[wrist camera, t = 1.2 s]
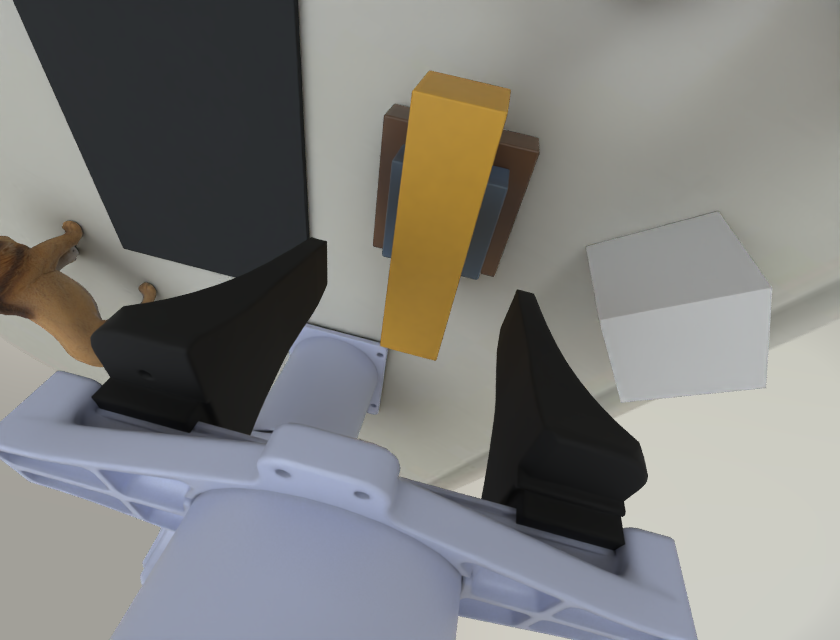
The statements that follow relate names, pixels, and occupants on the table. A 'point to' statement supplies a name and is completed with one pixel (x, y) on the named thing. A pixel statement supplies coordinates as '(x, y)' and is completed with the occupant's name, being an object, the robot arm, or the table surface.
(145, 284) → the lion figurine
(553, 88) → the table surface
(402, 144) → the brown blue stepped block
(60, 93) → the mat
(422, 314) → the bar
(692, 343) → the white cube
